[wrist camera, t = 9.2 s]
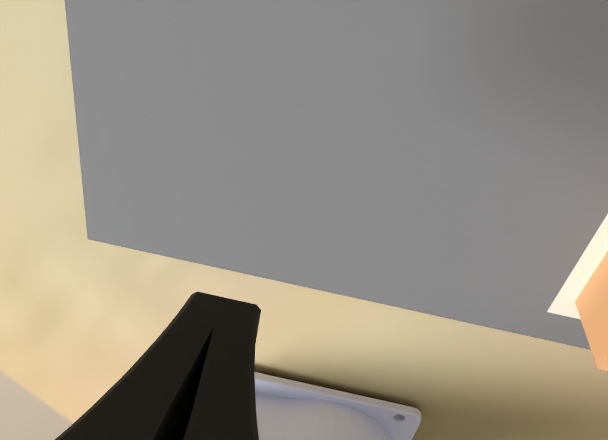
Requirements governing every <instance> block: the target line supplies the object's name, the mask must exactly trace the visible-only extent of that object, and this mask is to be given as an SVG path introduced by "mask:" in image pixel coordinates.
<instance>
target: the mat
mask: <svg viewBox="0 0 608 440" xmlns="http://www.w3.org/2000/svg"><path fill="white" fill-rule="evenodd" d="M65 8H66V18H67V29H68V39H69V49H70V60H71V70H72V81H73V91H74V101H75V112H76V122H77V132H78V143H79V153H80V163H81V174H82V184H83V195H84V205H85V215H86V226H87V236H88V239H90V240H94V241H99V242H103V243H108V244H112V245H117V246H121V247H126V248H131V249H135V250H140V251H144V252H149V253H153V254H158V255H162V256H167V257H171V258H176V259H181V260H185V261H190V262H194V263H199V264H203V265H208V266H212V267H217V268H222V269H226V270H231V271H235V272H240V273H244V274H249V275H253V276H258V277H263V278H267V279H272V280H276V281H281V282H285V283H290V284H294V285H299V286H303V287H308V288H313V289H317V290H322V291H326V292H331V293H335V294H340V295H344V296H349V297H354V298H358V299H363V300H367V301H372V302H376V303H381V304H385V305H390V306H395V307H399V308H404V309H408V310H413V311H417V312H422V313H426V314H431V315H435V316H440V317H445V318H449V319H454V320H458V321H463V322H467V323H472V324H476V325H481V326H486V327H490V328H495V329H499V330H504V331H508V332H513V333H517V334H522V335H526V336H531V337H536V338H540V339H545V340H549V341H554V342H558V343H563V344H567V345H572V346H577V347H581V348H586V349H590V350H591V348H590V345H589V342H588V340H587V337H586V334H585V331H584V328H583V325H582V322H581V319H580V316H579V313H578V310H577V307H576V304H575V300H576V299H577V297H578V296H579V294H580V293H581V291H582V290H583V288H584V287H585V285H586V283H587V282H588V280H589V279H590V277H591V276H592V274H593V273H594V271H595V270H596V268H597V267H598V265H599V264H600V262H601V261H602V259H603V257H604V256H605V254H606V253H607V251H608V0H65Z"/></svg>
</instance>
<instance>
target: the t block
mask: <svg viewBox="0 0 608 440" xmlns="http://www.w3.org/2000/svg"><path fill="white" fill-rule="evenodd" d="M575 304H576V307H577V310H578V313H579V316H580V319H581V322H582V325H583V328H584V331H585V334H586V337H587V340H588V342H589V345H590V348H591V351H592V354H593V357H594V360H595V363H596V366H597V369H600V370H605V371H608V251H607V253H606V254H605V256H604V257H603V259H602V261H601V262H600V264H599V265H598V267H597V268H596V270H595V271H594V273H593V274H592V276H591V277H590V279H589V280H588V282H587V283H586V285H585V287H584V288H583V290H582V291H581V293H580V294H579V296H578V297H577V299H576V300H575Z"/></svg>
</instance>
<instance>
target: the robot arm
mask: <svg viewBox="0 0 608 440" xmlns="http://www.w3.org/2000/svg"><path fill="white" fill-rule="evenodd" d="M260 313H261V310H260V308H259V307H258V306H257V305H255V304H251V303H246V302H242V301H237V300H233V299H228V298H224V297H219V296H214V295H210V294H205V293H201V292H196V293H194V294H192V295H191V296H190V298H189V299H188V300H187V302H186V303H185V305H184V306H183V307H182V309H181V310H180V311H179V313H178V314H177V315H176V317H175V318H174V319H173V320H172V322H171V323H170V324H169V325H168V327H167V328H166V329H165V330H164V331H163V332H162V334H161V335H160V336H159V337H158V338H157V340H156V341H155V342H154V343H153V344H152V345H151V346H150V347H149V349H148V350H147V351H146V352H145V353H144V354H143V355H142V356H141V357H140V358H139V360H138V361H137V362H136V363H135V364H134V365H133V366H132V367H131V368H130V369H129V370H128V371H127V373H126V374H125V375H124V376H123V377H122V378H121V379H120V380H119V381H118V382H117V383H116V384H115V385H114V386H113V387H111V388H110V389H109V390H108V391H107V392H106V393H105V394H104V395H103V396H102V397H101V398H100V399H99V400H98V401H97V402H96V403H95V404H94V405H93V406H92V407H91V408H90V409H89V410H88V411H87V412H86V413H85V414H83V415H82V416H81V417H80V418H79V419H78V420H77V421H76V422H75V423H74V424H72V425H71V426H70V427H69V428H68V429H67V430H66V431H64V432H63V433H62V434H61V435H60V436H59V437H57V438H56V439H55V440H412V439H413V437H414V435H415V433H416V431H417V429H418V427H419V425H420V423H421V412H420V411H419V410H418V409H417V408H414V407H410V406H406V405H401V404H397V403H392V402H388V401H383V400H379V399H374V398H370V397H365V396H361V395H356V394H352V393H347V392H343V391H338V390H334V389H329V388H325V387H320V386H316V385H311V384H307V383H302V382H298V381H293V380H289V379H284V378H280V377H275V376H271V375H266V374H262V373H257V372H254V361H255V343H256V337H257V331H258V325H259V319H260Z"/></svg>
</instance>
